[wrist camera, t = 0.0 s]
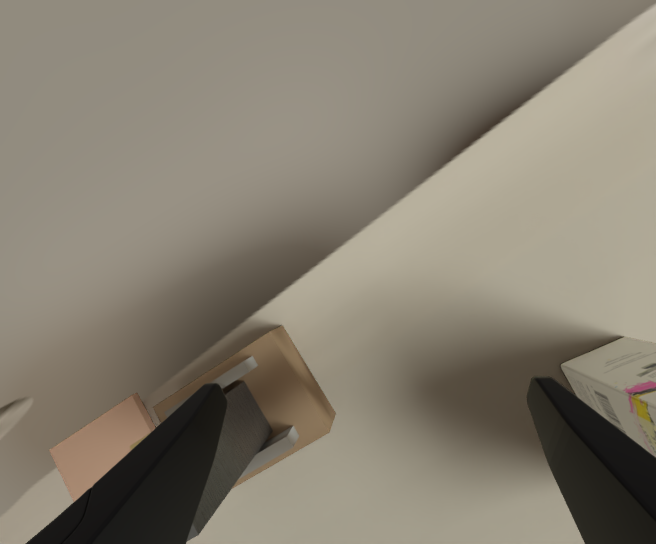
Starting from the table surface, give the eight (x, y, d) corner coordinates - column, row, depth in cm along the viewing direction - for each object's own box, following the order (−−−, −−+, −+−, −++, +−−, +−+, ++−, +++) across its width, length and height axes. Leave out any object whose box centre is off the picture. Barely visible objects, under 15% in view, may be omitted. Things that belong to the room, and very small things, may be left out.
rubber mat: (192, 497, 26) (188, 502, 25) (105, 548, 27) (99, 554, 27) (137, 392, 27) (131, 395, 26) (55, 446, 28) (48, 450, 28)
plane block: (335, 413, 24) (325, 444, 20) (225, 478, 26) (192, 520, 21) (282, 325, 25) (260, 335, 21) (178, 392, 26) (137, 415, 22)
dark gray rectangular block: (273, 430, 22) (198, 534, 13) (228, 457, 22) (127, 574, 13) (240, 373, 22) (146, 436, 13) (197, 401, 23) (80, 478, 14)
